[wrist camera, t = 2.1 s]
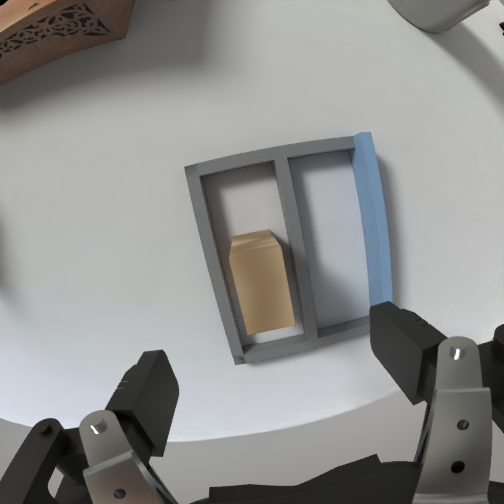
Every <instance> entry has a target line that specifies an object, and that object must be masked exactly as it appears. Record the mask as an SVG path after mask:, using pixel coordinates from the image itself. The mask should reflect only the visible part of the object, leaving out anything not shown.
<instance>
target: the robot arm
mask: <svg viewBox="0 0 504 504" xmlns="http://www.w3.org/2000/svg"><path fill="white" fill-rule="evenodd" d="M489 1H490V0H389V2H390V3H391V5H392V6H393V7H394V8H395V9H396V10H397V11H398V12H399V13H400V14H401V15H402V16H403V17H404V18H406V19H407V20H408V21H409V22H411V23H412V24H414V25H415V26H417V27H419V28H421V29H423V30H425V31H427V32H431V33H439V32H441V31H443V30H444V29H448V30H449V29H450V28H452V27H454V26H455V25H457V24H458V23H460V22H461V21H463V20H465V19H466V18H468V17H469V16H471V15H473V14H474V13H476V12H478V11H479V10H481V9H483V8H484V7H486V6H488V5H489ZM370 343H371V348H372V351H373V353H374V355H375V356H376V357H377V359H378V360H379V361H380V363H381V364H382V365H383V366H384V368H385V369H386V370H387V372H388V373H389V374H390V375H391V377H392V378H393V379H394V381H395V382H396V383H397V384H398V386H399V387H400V388H401V390H402V391H403V392H404V393H405V395H406V396H407V398H408V399H409V400H410V402H412V404H413V405H415V404H418V403H420V402H422V401H424V400H425V401H426V402H427V407H426V411H425V416H424V421H423V426H422V431H421V435H420V440H419V444H418V447H417V451H416V454H415V457H414V461H413V462H408V461H392V462H383V463H381V462H380V460H379V458H378V456H377V454H374V455H371V456H369V457H366V458H363V459H360V460H357V461H354V462H351V463H348V464H345V465H342V466H338V467H336V468H334V469H332V470H330V471H328V472H326V473H324V474H322V475H320V476H317V477H315V478H313V479H311V480H309V481H307V482H304V483H302V484H299V485H296V486H270V485H269V486H268V485H254V484H248V485H237V486H223V487H210V489H209V497H208V498H204V499H201V500H198V501H195V502H193V503H190V504H504V483H500V482H495V481H489V477H490V467H491V455H492V420H493V421H494V422H495V423H496V424H497V426H498V427H499V428H500V429H501V431H502V432H503V433H504V324H502V325H500V326H498V327H497V328H496V330H495V333H494V337H493V341H490V342H486V343H483V344H479V345H477V344H476V343H475V342H474V341H473V340H471V339H469V338H466V337H460V336H457V337H451V338H447V337H446V336H445V335H443V334H442V333H441V332H440V331H438V330H437V329H436V328H434V327H433V326H432V325H430V324H428V322H426V321H425V320H424V319H422V318H421V317H420V316H418V315H417V314H416V313H414V312H412V311H409V310H406V309H399V308H398V307H397V306H396V305H394V304H393V303H392V302H390V301H386V302H383V303H379V304H376V305H373V306H371V307H370ZM178 397H179V386H178V382H177V379H176V377H175V375H174V372H173V370H172V368H171V365H170V363H169V360H168V358H167V356H166V353H165V352H164V351H163V350H155V351H146V352H143V354H142V356H141V357H140V359H139V361H138V363H137V365H134V366H132V367H131V368H130V369H129V370H128V371H127V372H126V373H125V375H124V376H123V378H122V380H121V382H120V383H119V385H118V387H117V389H116V390H115V392H114V394H113V395H112V397H111V399H110V401H109V403H108V404H107V406H106V408H105V410H99V411H95V412H93V413H90V414H89V415H87V416H86V417H85V418H84V419H83V420H82V421H81V423H80V426H79V427H78V428H71V429H64V428H63V427H62V425H61V424H60V422H59V421H58V420H56V419H54V418H47V419H44V420H42V421H40V422H38V423H37V424H36V425H35V426H34V427H33V428H32V430H31V431H30V433H29V434H28V436H27V437H26V439H25V440H24V442H23V444H22V445H21V447H20V448H19V450H18V452H17V453H16V455H15V457H14V458H13V460H12V462H11V463H10V465H9V467H8V468H7V470H6V472H5V474H4V476H3V477H2V479H1V481H0V504H179V503H178V502H177V501H176V500H175V499H174V497H173V496H172V495H171V493H170V492H169V490H168V489H167V488H166V486H165V485H164V483H163V482H162V480H161V479H160V478H159V476H158V475H157V473H156V472H155V470H154V468H153V467H152V466H151V464H150V463H149V460H150V457H151V456H155V457H156V456H157V457H163V454H164V451H165V446H166V443H167V439H168V435H169V431H170V427H171V423H172V419H173V416H174V412H175V408H176V405H177V401H178ZM55 467H56V468H57V469H58V470H59V471H60V472H61V473H62V474H63V475H64V477H63V479H62V482H61V484H60V486H59V489H58V491H57V494H56V496H55V499H54V498H53V497H52V496H51V494H50V493H49V490H48V482H49V480H50V478H51V476H52V473H53V471H54V469H55Z"/></svg>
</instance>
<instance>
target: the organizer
mask: <svg viewBox="0 0 504 504" xmlns="http://www.w3.org/2000/svg"><path fill="white" fill-rule="evenodd" d="M345 150H349V152H350V156H351V161H352V166H353V171H354V176H355V181H356V187H357V192H358V198H359V204H360V211H361V217H362V224H363V232H364V240H365V248H366V257H367V268H368V279H369V293H370V307H371V306H373V305H376V304H379V303H383V302H386V301H390V302H392V303H393V301H392V274H391V258H390V246H389V236H388V227H387V218H386V211H385V204H384V197H383V191H382V185H381V179H380V173H379V168H378V163H377V158H376V153H375V149H374V144H373V140H372V136H371V132H363V133H358V134H356V135H354V136H349V137H340V138H331V139H323V140H316V141H309V142H302V143H295V144H289V145H283V146H277V147H272V148H266V149H261V150H256V151H251V152H246V153H241V154H236V155H232V156H227V157H223V158H218V159H214V160H210V161H206V162H202V163H198V164H194V165H190V166H186V167H184V168H185V173H186V178H187V182H188V187H189V192H190V196H191V201H192V205H193V209H194V214H195V218H196V222H197V226H198V231H199V235H200V239H201V243H202V247H203V251H204V255H205V259H206V263H207V267H208V271H209V274H210V278H211V282H212V286H213V289H214V293H215V297H216V300H217V304H218V308H219V311H220V315H221V318H222V322H223V325H224V329H225V332H226V336H227V339H228V343H229V346H230V349H231V353H232V356H233V359H234V362H235V365H239V364H245V363H250V362H256V361H261V360H266V359H271V358H276V357H280V356H285V355H289V354H293V353H298V352H302V351H306V350H310V349H314V348H318V347H322V346H325V345H329V344H333V343H336V342H340V341H343V340H347V339H350V338H354V337H357V336H360V335H363V334H367V333H370V316H366V317H363V318H360V319H356V320H353V321H349V322H346V323H342V324H339V325H335V326H332V327H328V328H324V329H320V330H317V325H316V317H315V310H314V303H313V296H312V290H311V283H310V277H309V270H308V264H307V258H306V252H305V247H304V241H303V235H302V230H301V224H300V219H299V214H298V209H297V204H296V199H295V194H294V189H293V184H292V179H291V174H290V170H289V165H288V161H287V159H291V158H296V157H303V156H309V155H315V154H322V153H329V152H337V151H345ZM268 162H273V167H274V171H275V176H276V181H277V185H278V190H279V195H280V200H281V205H282V210H283V215H284V220H285V225H286V230H287V235H288V240H289V246H290V251H291V256H292V262H293V267H294V273H295V279H296V284H297V290H298V296H299V302H300V308H301V314H302V320H303V327H304V334H300V335H296V336H292V337H287V338H283V339H278V340H274V341H269V342H264V343H259V344H254V345H249V346H244V347H243V344H242V340H241V336H240V333H239V329H238V325H237V321H236V318H235V314H234V310H233V306H232V302H231V298H230V294H229V291H228V287H227V283H226V279H225V275H224V271H223V267H222V263H221V259H220V254H219V250H218V246H217V242H216V238H215V234H214V229H213V225H212V221H211V216H210V212H209V208H208V203H207V199H206V194H205V190H204V185H203V181H202V177H204V176H208V175H212V174H217V173H221V172H225V171H230V170H234V169H239V168H244V167H248V166H253V165H258V164H263V163H268Z"/></svg>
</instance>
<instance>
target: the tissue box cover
mask: <svg viewBox="0 0 504 504" xmlns="http://www.w3.org/2000/svg"><path fill="white" fill-rule="evenodd" d="M134 2H135V0H0V86H1V85H2V84H4V83H6V82H8V81H10V80H12V79H13V78H15V77H17V76H19V75H21V74H23V73H25V72H28V71H30V70H32V69H34V68H36V67H38V66H41V65H43V64H45V63H48V62H50V61H53V60H55V59H58V58H60V57H63V56H66V55H68V54H71V53H74V52H77V51H80V50H83V49H86V48H89V47H93V46H96V45H100V44H103V43H107V42H111V41H115V40H119V39H123V38H125V34H126V30H127V27H128V23H129V19H130V16H131V12H132V9H133V6H134Z"/></svg>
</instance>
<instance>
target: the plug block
mask: <svg viewBox="0 0 504 504" xmlns="http://www.w3.org/2000/svg"><path fill="white" fill-rule="evenodd" d="M229 262H230V266H231V270H232V274H233V278H234V282H235V286H236V290H237V294H238V298H239V302H240V306H241V310H242V314H243V318H244V322H245V326H246V330H247V334H248V335H251V334H256V333H261V332H266V331H271V330H275V329H280V328H284V327H289V326H293V325H295V320H294V315H293V309H292V303H291V298H290V292H289V287H288V281H287V276H286V271H285V265H284V260H283V255H282V250H281V246H280V245H279V244H278V242H277V241H276V239H275V238H274V236H273V235H272V234H271V232H270V231H269V229H267V230H262V231H257V232H253V233H248V234H243V235H239V236H234V237H233V241H232V246H231V250H230V255H229Z"/></svg>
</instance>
